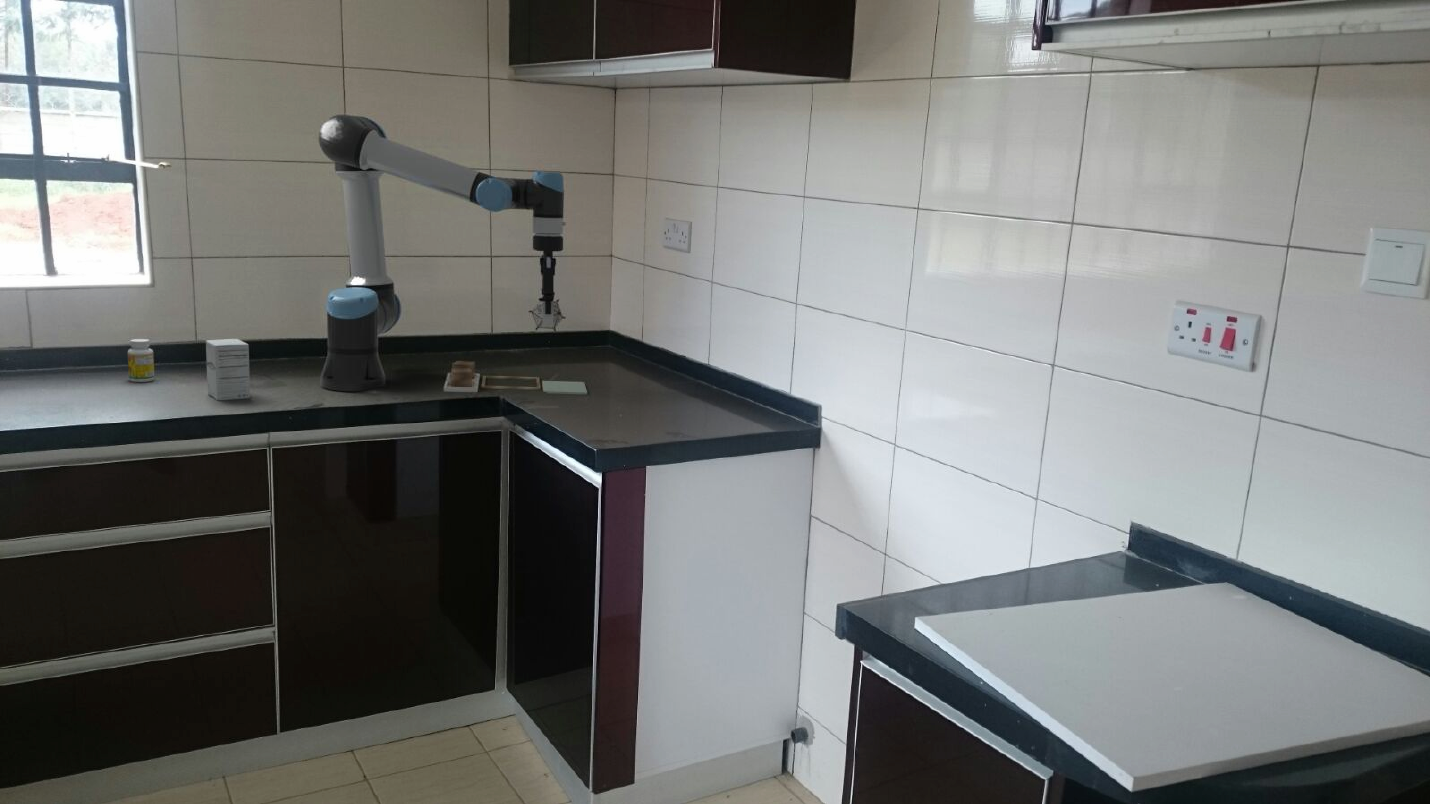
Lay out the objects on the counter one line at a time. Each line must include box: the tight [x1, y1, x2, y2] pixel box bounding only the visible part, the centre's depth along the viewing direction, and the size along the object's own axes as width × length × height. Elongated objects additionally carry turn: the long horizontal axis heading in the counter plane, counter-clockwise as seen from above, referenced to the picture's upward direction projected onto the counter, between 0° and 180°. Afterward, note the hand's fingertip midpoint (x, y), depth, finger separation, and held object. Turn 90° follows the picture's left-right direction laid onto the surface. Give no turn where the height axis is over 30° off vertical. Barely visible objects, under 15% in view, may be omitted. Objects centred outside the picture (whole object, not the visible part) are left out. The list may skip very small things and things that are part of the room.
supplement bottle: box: [127, 338, 155, 383], centre depth 251 cm, size 5×5×10 cm
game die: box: [528, 297, 566, 332], centre depth 270 cm, size 9×8×10 cm
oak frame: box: [480, 375, 542, 391], centre depth 273 cm, size 15×14×1 cm
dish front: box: [443, 380, 480, 393], centre depth 264 cm, size 8×8×2 cm
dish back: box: [445, 372, 481, 383], centre depth 273 cm, size 8×8×2 cm
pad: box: [541, 380, 588, 396], centre depth 274 cm, size 11×13×1 cm
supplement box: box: [205, 338, 251, 401], centre depth 241 cm, size 7×7×13 cm
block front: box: [450, 368, 472, 387], centre depth 263 cm, size 4×4×4 cm
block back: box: [451, 360, 476, 379], centre depth 273 cm, size 4×4×4 cm
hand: (547, 324), depth 270 cm, fingers closed on game die, 9 cm apart
